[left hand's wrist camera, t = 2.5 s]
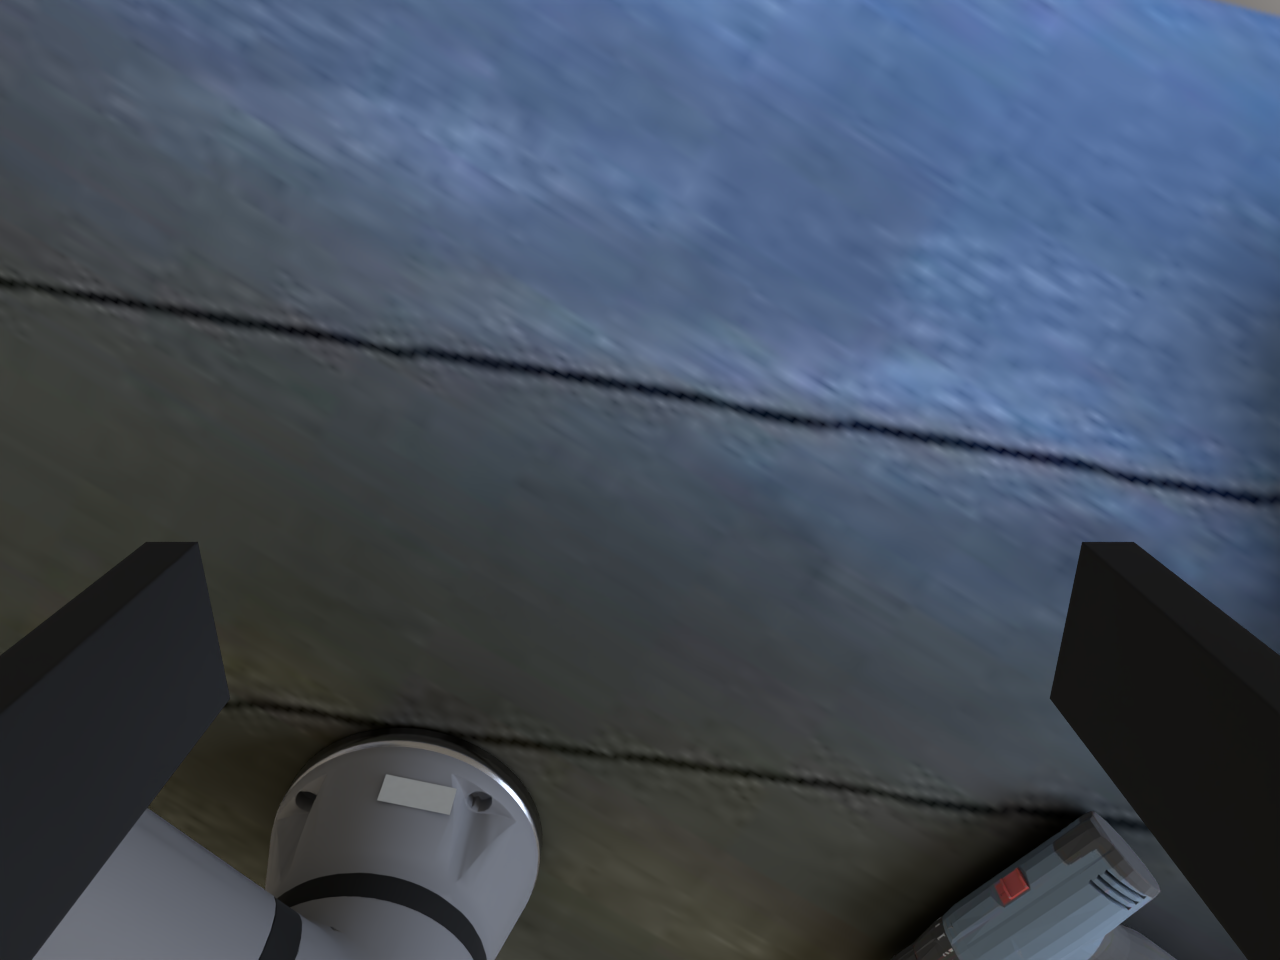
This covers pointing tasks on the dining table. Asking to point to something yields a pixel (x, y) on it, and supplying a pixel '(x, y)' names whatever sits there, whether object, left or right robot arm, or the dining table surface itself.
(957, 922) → the power drill
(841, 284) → the dining table surface
